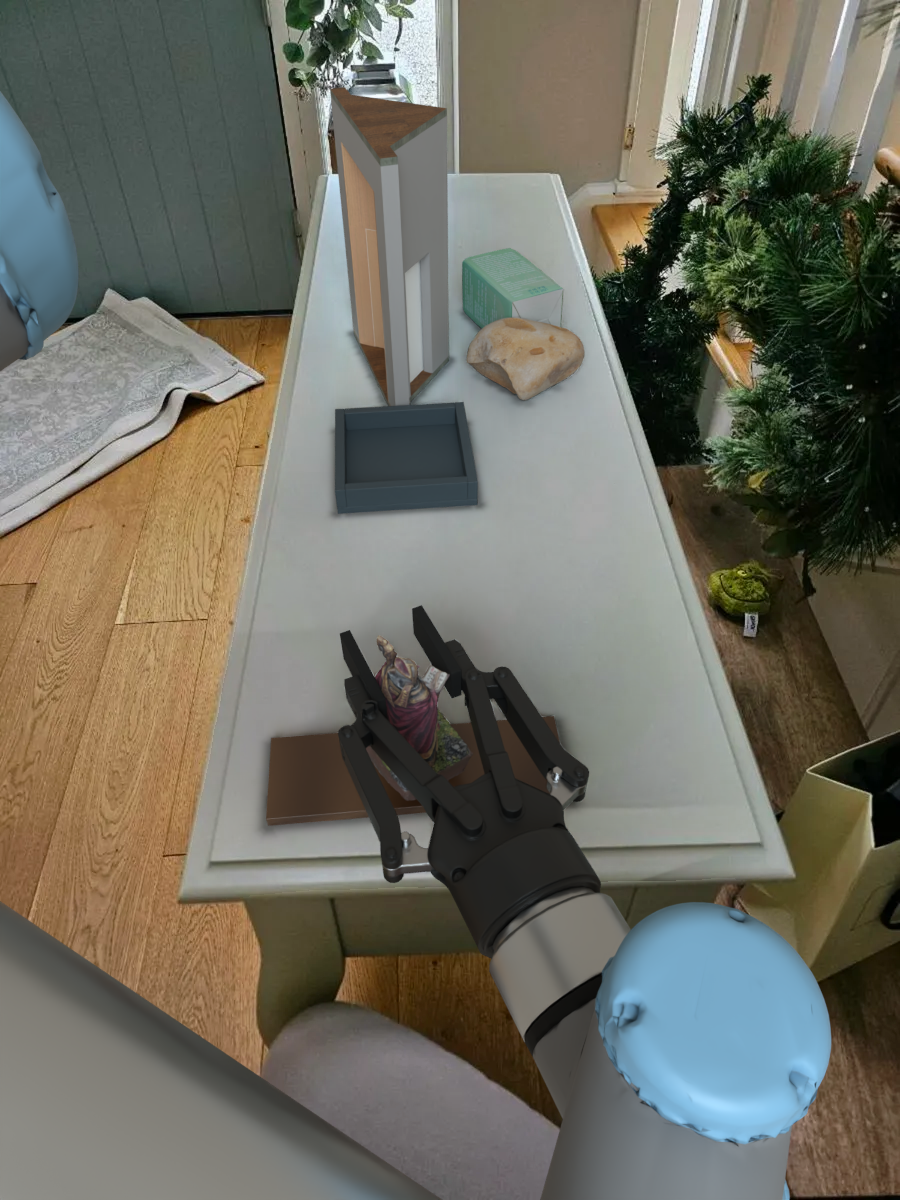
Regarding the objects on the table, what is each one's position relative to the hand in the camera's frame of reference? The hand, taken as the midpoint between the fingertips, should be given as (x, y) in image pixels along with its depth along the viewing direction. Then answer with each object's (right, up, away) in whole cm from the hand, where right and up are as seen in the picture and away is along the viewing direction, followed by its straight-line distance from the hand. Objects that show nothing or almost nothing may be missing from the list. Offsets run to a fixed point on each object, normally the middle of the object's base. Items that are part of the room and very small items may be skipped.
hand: (382, 632), depth 60 cm
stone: (+14, +28, +41) cm, 52 cm away
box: (+12, +37, +50) cm, 64 cm away
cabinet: (0, +30, +43) cm, 53 cm away
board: (+2, -11, +4) cm, 12 cm away
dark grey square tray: (0, +16, +30) cm, 34 cm away
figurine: (+2, -9, +2) cm, 9 cm away
